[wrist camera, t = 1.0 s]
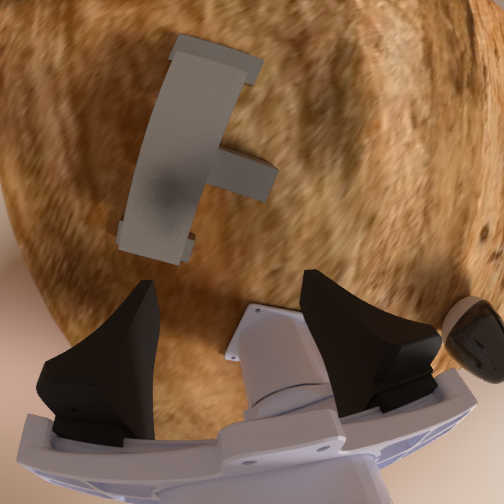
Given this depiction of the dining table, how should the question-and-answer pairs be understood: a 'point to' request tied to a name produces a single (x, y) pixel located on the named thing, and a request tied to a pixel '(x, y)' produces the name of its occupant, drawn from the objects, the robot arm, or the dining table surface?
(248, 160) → the plug
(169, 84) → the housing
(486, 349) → the black penguin figurine
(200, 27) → the dining table surface
